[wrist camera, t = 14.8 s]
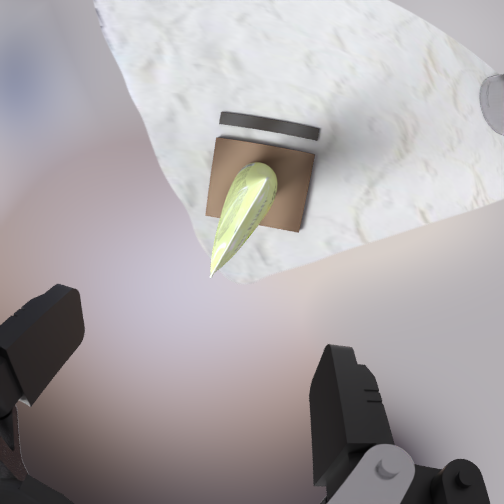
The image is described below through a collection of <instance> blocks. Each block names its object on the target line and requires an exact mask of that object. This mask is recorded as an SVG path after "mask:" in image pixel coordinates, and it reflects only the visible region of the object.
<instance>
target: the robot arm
mask: <svg viewBox="0 0 504 504" xmlns="http://www.w3.org/2000/svg"><path fill="white" fill-rule="evenodd" d="M480 104H481V108H482V112H483V114H484V117H485V119H486V121H487V122H488V124H489V125H490V127H491V128H492V129H493V130H494V131H495V132H497V133H499V134H501V135H504V74H503V75H497V76H492V77H488V78H487V79H485V81H484V82H483V84H482V86H481V90H480ZM84 332H85V327H84V320H83V314H82V308H81V300H80V294H79V292H78V290H77V289H74V288H71V287H67V286H64V285H61V284H56V285H55V286H53V287H52V288H51V289H50V290H48V291H47V292H46V293H45V294H43V295H40V296H38V297H36V298H33V299H31V300H30V301H29V302H27V303H26V304H25V305H24V306H22V308H21V309H19V310H18V311H17V312H15V313H14V316H11V317H9V318H8V319H7V320H6V321H5V322H4V323H3V324H2V325H0V504H74V503H73V502H71V501H70V500H69V499H68V498H66V497H65V496H64V495H63V494H61V493H59V492H57V491H55V490H54V489H52V488H50V487H48V486H47V485H45V484H43V483H41V482H40V481H38V480H36V479H35V478H33V477H31V476H30V475H28V472H27V470H26V468H25V466H24V463H23V461H22V457H21V450H20V441H19V428H18V411H17V407H16V405H15V404H16V403H17V402H18V400H20V401H22V402H24V403H25V404H27V405H29V406H30V407H31V406H32V405H33V403H34V402H35V401H36V399H37V398H38V397H39V395H40V394H41V393H42V391H43V390H44V389H45V388H46V386H47V385H48V384H49V382H50V381H51V380H52V379H53V377H54V376H55V375H56V374H57V372H58V371H59V370H60V368H61V367H62V366H63V365H64V364H65V362H66V361H67V360H68V359H69V357H70V356H71V355H72V354H73V352H74V351H75V350H76V349H77V348H78V346H79V345H80V344H81V342H82V340H83V337H84ZM309 402H310V415H311V416H310V417H311V434H312V453H313V479H314V480H313V481H314V486H326V491H327V496H326V497H325V498H324V499H323V500H322V502H321V503H320V504H490V501H489V497H488V494H487V490H486V486H485V483H484V480H483V477H482V474H481V472H480V470H479V468H478V467H477V466H476V465H475V464H473V463H472V462H470V461H468V460H465V459H456V460H453V461H451V462H450V463H448V464H447V465H446V466H445V467H444V468H443V469H436V468H430V467H425V466H419V465H416V464H414V463H413V460H412V458H411V457H410V455H409V454H408V453H407V452H406V451H404V450H403V449H401V448H400V447H397V446H395V444H394V441H393V437H392V434H391V430H390V426H389V423H388V419H387V416H386V412H385V409H384V405H383V404H382V398H381V395H380V393H379V389H378V385H377V382H376V379H375V377H374V375H373V374H372V373H371V372H370V370H369V369H368V368H367V367H366V366H365V365H360V364H357V361H356V358H355V354H354V350H353V348H352V347H346V346H338V345H330V344H328V345H327V346H326V347H325V349H324V352H323V354H322V357H321V360H320V362H319V365H318V367H317V370H316V372H315V374H314V377H313V379H312V383H311V387H310V394H309Z"/></svg>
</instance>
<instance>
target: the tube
mask: <svg viewBox="0 0 504 504" xmlns="http://www.w3.org/2000/svg"><path fill="white" fill-rule="evenodd" d="M276 192H277V177H276V174H275V172H274V171H273V170H272V168H270V167H269V166H268V165H266V164H264V163H260V162H254V163H250V164H248V165H246V166H244V167H243V168H242V169H241V170H240V171H239V173H238V174H237V176H236V177H235V179H234V181H233V183H232V185H231V187H230V189H229V192H228V194H227V197H226V200H225V203H224V206H223V209H222V213H221V217H220V220H219V224H218V228H217V232H216V236H215V240H214V246H213V252H212V259H211V275H210V278H211V277H212V276H213V274H214V273H215V272H216V271H217V270H219V269H220V268H221V267H222V266H223V265H224V264H225V263H226V262H228V261H229V260H230V259H231V258H232V257H233V255H234V254H235V253H236V252H237V251H238V250H239V249H240V248H241V246H242V245H243V244H244V243H245V241H246V240H247V239H248V238H249V236H250V235H251V234H252V233H253V231H254V230H255V229H256V228H257V226H258V225H259V224H260V222H261V221H262V220H263V218H264V217H265V215H266V214H267V213H268V211H269V209H270V208H271V206H272V204H273V202H274V199H275V196H276Z"/></svg>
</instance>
